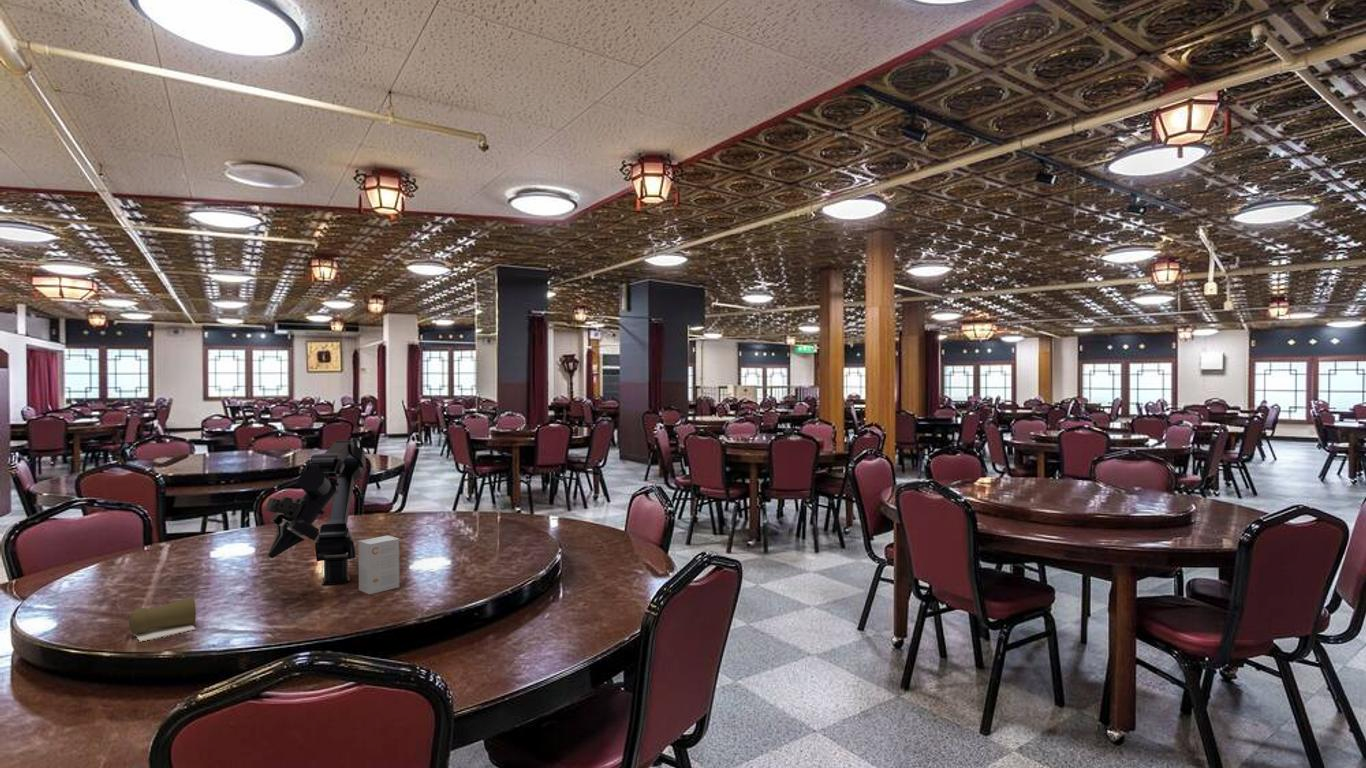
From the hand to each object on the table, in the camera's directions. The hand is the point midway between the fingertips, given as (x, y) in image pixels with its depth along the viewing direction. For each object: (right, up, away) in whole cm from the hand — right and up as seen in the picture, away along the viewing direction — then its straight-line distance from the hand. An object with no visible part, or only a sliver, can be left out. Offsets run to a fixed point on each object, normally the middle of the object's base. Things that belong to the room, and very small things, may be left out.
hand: (269, 557), depth 160 cm
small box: (+20, -12, +15) cm, 27 cm away
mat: (-14, -12, -15) cm, 24 cm away
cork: (-10, -9, -11) cm, 17 cm away
